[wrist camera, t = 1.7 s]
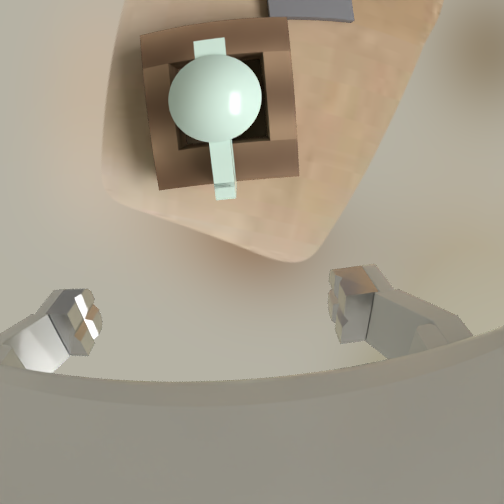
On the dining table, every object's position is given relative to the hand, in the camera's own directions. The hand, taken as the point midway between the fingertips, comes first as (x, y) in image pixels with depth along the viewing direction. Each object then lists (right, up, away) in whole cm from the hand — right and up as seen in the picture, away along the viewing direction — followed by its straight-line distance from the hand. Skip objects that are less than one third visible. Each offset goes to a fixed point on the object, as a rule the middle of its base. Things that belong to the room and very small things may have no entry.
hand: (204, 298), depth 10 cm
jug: (-1, +14, +16) cm, 22 cm away
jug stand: (-1, +15, +16) cm, 22 cm away
